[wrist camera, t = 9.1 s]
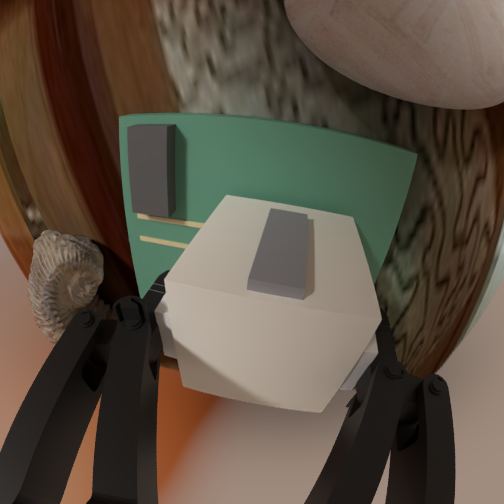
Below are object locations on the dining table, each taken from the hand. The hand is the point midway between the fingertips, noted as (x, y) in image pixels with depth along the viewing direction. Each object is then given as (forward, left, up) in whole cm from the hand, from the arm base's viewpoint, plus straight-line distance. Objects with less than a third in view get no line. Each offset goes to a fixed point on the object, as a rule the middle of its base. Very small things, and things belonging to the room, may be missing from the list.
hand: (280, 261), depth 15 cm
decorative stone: (+5, +14, -3) cm, 15 cm away
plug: (0, 0, 0) cm, 0 cm away
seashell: (-15, -7, -2) cm, 16 cm away
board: (-2, 0, -2) cm, 3 cm away
